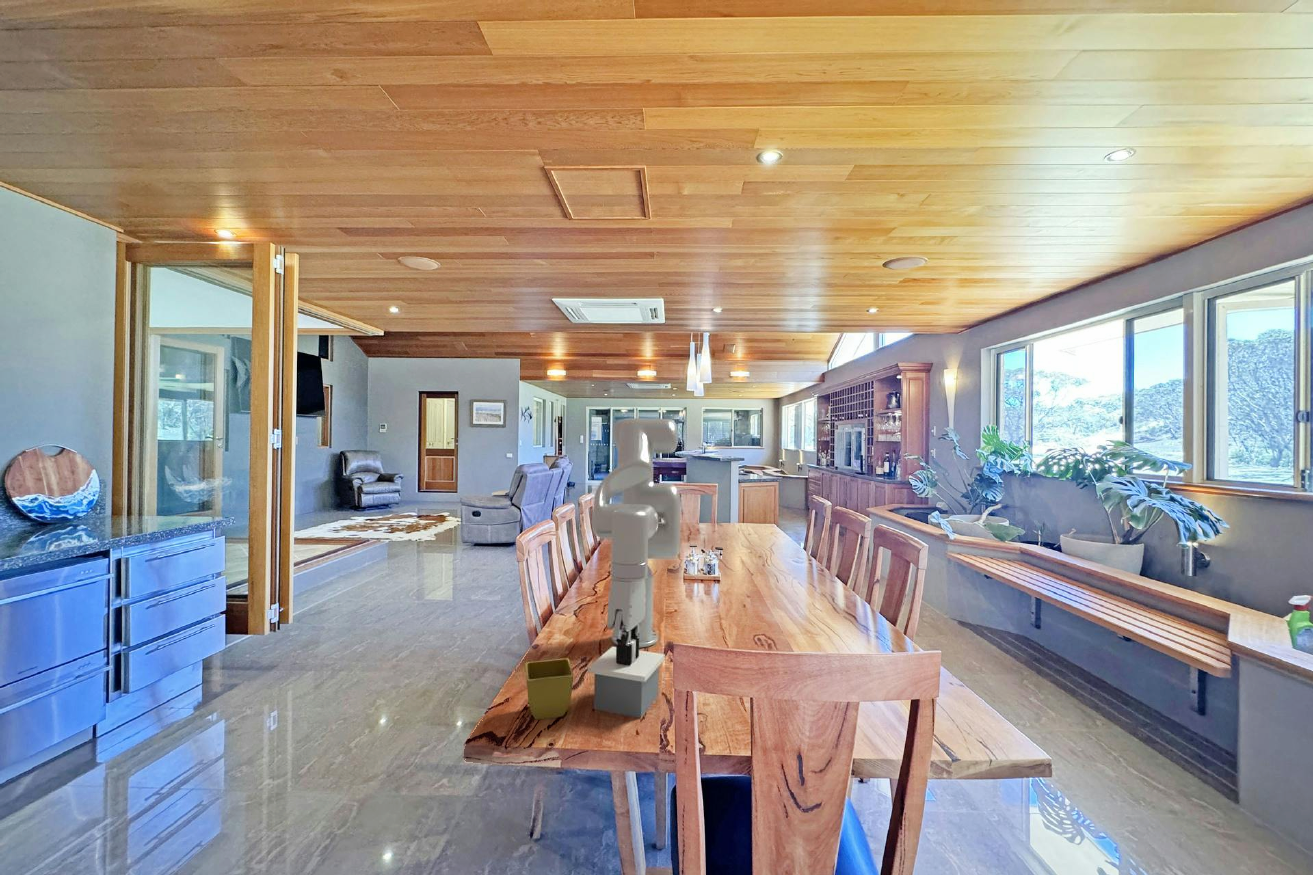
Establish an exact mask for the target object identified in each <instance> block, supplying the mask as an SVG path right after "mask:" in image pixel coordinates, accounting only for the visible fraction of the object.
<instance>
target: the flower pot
mask: <svg viewBox="0 0 1313 875" xmlns="http://www.w3.org/2000/svg"><path fill="white" fill-rule="evenodd" d="M524 665H525V666H524V667H525V668H524V669H525V677H526V678H525V679H526V680H525V681H526V688H527V698H528V701H527V702H528V706H529V709H530V712H531V715H532V716H533V718H534V719H535V720H543V719H551V718H559V717H564V715H565V714H566V712H567V711H568V709H569V706H570V703H571V698H572V692H573V691H572V690H573V684H574V683H573V682H574V671H573V668H572V665H571V661H570V659H569V658H568V657H566V658H565V657H564V658H557V659H549V660H538V661H537V660H536V661H528V662H525V663H524Z"/></svg>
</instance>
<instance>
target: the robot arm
mask: <svg viewBox="0 0 1313 875" xmlns="http://www.w3.org/2000/svg"><path fill="white" fill-rule="evenodd" d="M612 435H613V442H614V445H615V449H616V451H617V460H616V461H617V462H616V463H617V464H616V467H615V468H614V469H613V470H611V471H610V472H609V473H608V474H607V475H606V476H605V477H604V478H603V480H602V481H601V482H600V484H598V487H597V489H596V491H595V495H594V499H593V500H594V501H593V508H592V516H591V517H592V518H591V524H592V525H591V527H592V531H593V533H594V534H595V535H596V537H599V538H601V539H610V541H611V542H610V579H611V580H610V586H609V593H608V601H607V602H608V603H607V604H608V605H607V618H606V619H607V621H606V627H607V628H608V630H612V629H613V631H612V634H611V642H612V643H613V644H615V647H616V663H617V664H623V665H631V664H632V645H631V644H630V641H631V638H632V639H635V640H636V658H638V657H639V651H640V648H641V649H642V648H646V647H651V646H653V645H656V643H657V642H658V640H659V634H658V633H656V632H655V631H654V630H653V623H654V622H655V619H654V616H653V614H654V610H653V608H654V606H653V605H654V574H653V571H652V569H651V568H650V567H649V564H648V561H649V560H654V559H656V560H672V559H676V558H677V557H678V556H679V554H680V549H681V497H680V496H681V495H680V492H679V489H678V487H677V486H675V485H674V484H671V483H662V482H661V483H660V482H659V483H657V482H654V465H653V464H654V462H653V459H654V456H653V455H654V454H673V453H674V452H675V451H676V449H677V447H678V445H679V444H678V443H679V430H678V426H677V424H676V422H675V420H674V419H672V418H643V417H639V418H638V417H632V418H631V417H630V418H628V417H627V418H622V419H619V420H617V421H616V422H615V423H614V424H613V428H612ZM619 493H621V497H622V498H621V503H608V502H609V501H610V500H611V499H612V498H613V497H614V496H615V495H617V494H619ZM659 519H660V520H661V519H662V520H663V522H662V523H661V522H659Z"/></svg>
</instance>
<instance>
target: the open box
mask: <svg viewBox="0 0 1313 875" xmlns="http://www.w3.org/2000/svg"><path fill="white" fill-rule="evenodd" d="M659 666H660V665H659ZM659 666H658V667H657V669H656V670H655V671H654V672H653V673H652V674H651V676H650V677H649V678H648V679H647V680H646V681H645V682H641V681H635V680H629V679H623V678H617V677H611V676H605V675H599V674H594V678H593V679H594V684H593V685H594V686H593V687H594V688H593V693H594V694H593V695H594V696H593V710H595V711H596V710H597V711H602V712H606V713H613V714H618V715H623V716H628V717H633V718H639V719H642V718H643V716H644V715H645V714H646V713H647V711H648V710H649V708H651V706H652V705H653V704H654V702H655V701H656V700H657V698H658V697H659Z"/></svg>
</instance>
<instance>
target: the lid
mask: <svg viewBox="0 0 1313 875" xmlns="http://www.w3.org/2000/svg"><path fill="white" fill-rule="evenodd" d="M630 644H631V645H632V664H631V665H623V664H617V663H616V646H611V647H610V648H609V649H608V650H606V651H605V653H603V654H602V655H600V657H598V658H597V659H596V660H595V661H594V662H592V664H590V665H589V666H588V667H587V673H589V674H593V675H595V674H599V675H605V676H611V677H617V678H623V679H629V680H635V681H641V682H645V681H646V680H647V679H648V678H649V677H650V676H651V674H652V673H653V672H654V671H655V670H656V669H657V667H658V666H660V665H661V664H662V663H663V662H664V660H665V658H666V653H659V652H651V651H644V650H639V657H638V658H636V640H635V639H632V638H631V641H630Z"/></svg>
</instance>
